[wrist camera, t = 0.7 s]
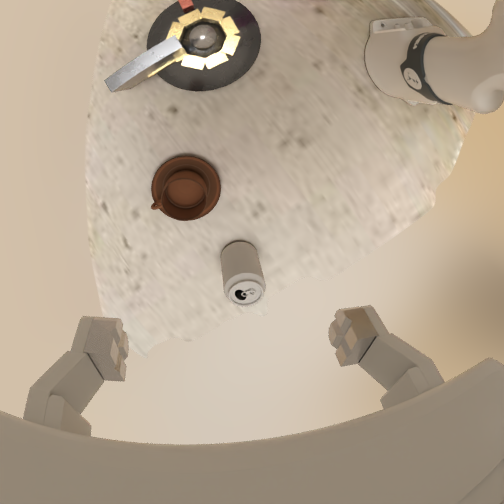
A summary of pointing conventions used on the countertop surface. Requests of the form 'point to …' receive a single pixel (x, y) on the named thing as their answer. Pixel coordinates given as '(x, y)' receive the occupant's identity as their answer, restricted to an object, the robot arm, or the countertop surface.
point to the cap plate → (219, 70)
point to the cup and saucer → (185, 188)
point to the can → (242, 274)
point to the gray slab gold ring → (176, 51)
